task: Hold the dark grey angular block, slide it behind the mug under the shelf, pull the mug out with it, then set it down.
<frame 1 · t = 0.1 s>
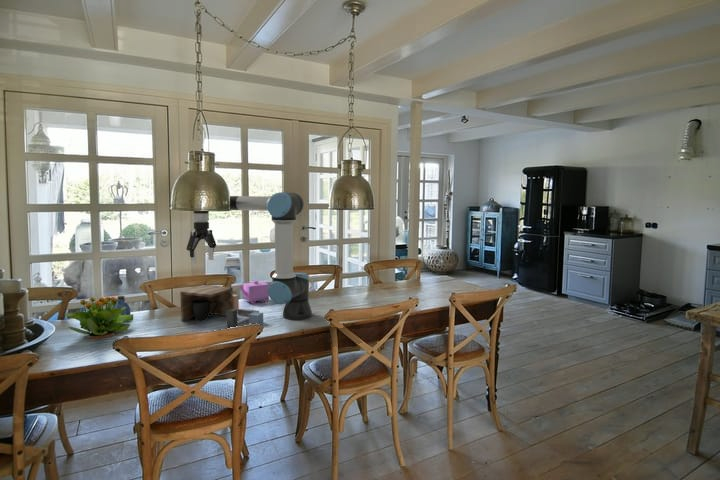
hand: (202, 261, 221), 28 cm above the table, fingers open, 13 cm apart
cube: (256, 323, 207), on the table
teapot: (253, 302, 249), on the table
dark grey angular block: (232, 328, 199), on the table
shelf: (218, 313, 223), on the table
perfume bottle: (122, 320, 211), on the table
mug: (205, 319, 213), on the table
potted flower: (100, 336, 186), on the table
stick: (234, 311, 228), on the table
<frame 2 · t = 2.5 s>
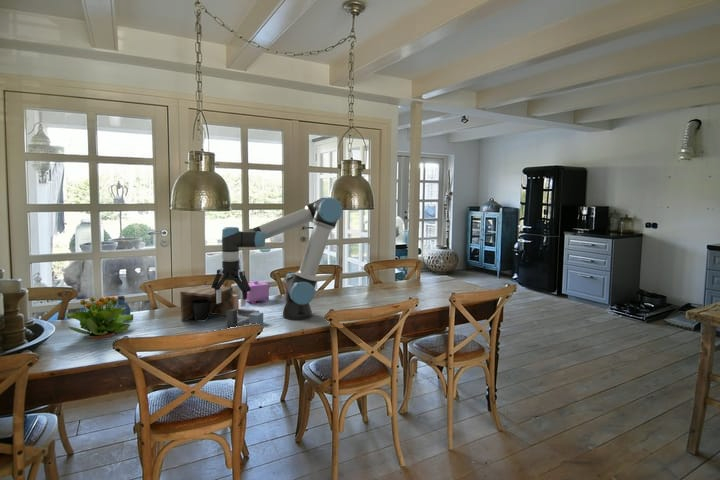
hand: (230, 304, 197), 12 cm above the table, fingers open, 13 cm apart
nothing on the table moved.
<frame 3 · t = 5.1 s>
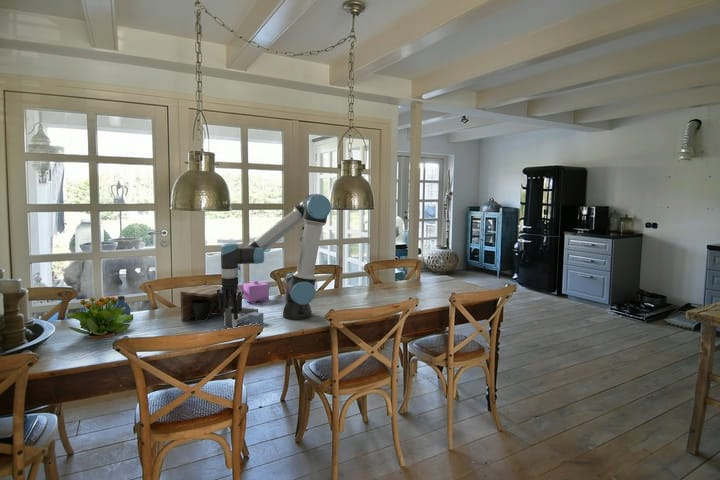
hand: (230, 325, 198), 2 cm above the table, fingers closed on dark grey angular block, 3 cm apart
dark grey angular block: (230, 326, 198), point 1 cm above the table, touching gripper
everything else where it was.
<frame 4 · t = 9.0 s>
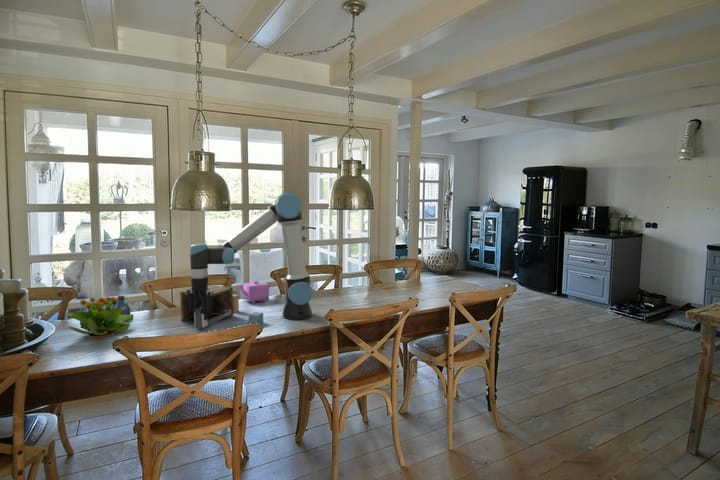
hand: (201, 325, 197), 2 cm above the table, fingers closed on dark grey angular block, 3 cm apart
dark grey angular block: (201, 326, 197), point 1 cm above the table, touching gripper
everything else where it was.
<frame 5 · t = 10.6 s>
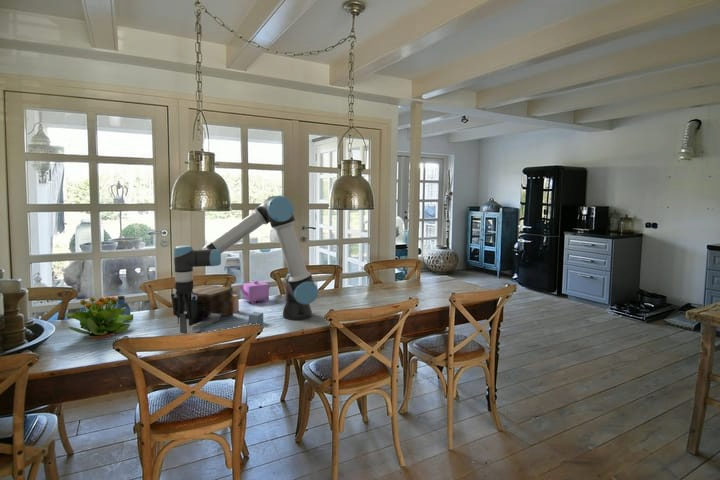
hand: (185, 331, 188), 2 cm above the table, fingers closed on dark grey angular block, 4 cm apart
dark grey angular block: (186, 332, 188), point 1 cm above the table, touching gripper, mug
mug: (197, 322, 208), on the table, touching dark grey angular block
everything else where it was.
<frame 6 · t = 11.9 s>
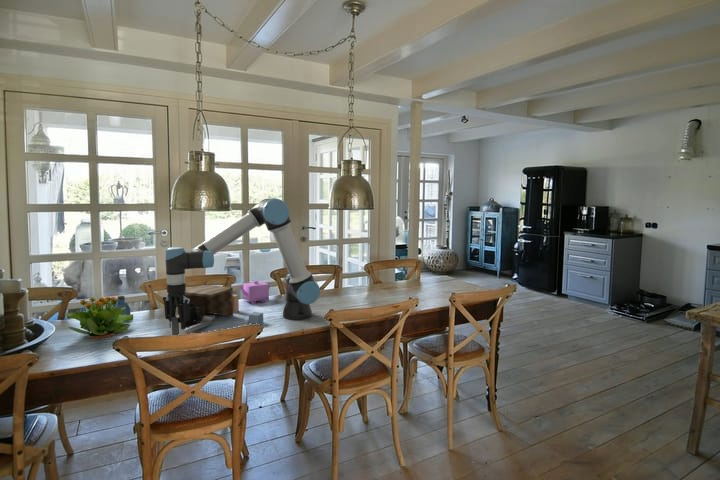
hand: (178, 335, 183), 2 cm above the table, fingers closed on dark grey angular block, 4 cm apart
dark grey angular block: (178, 336, 184), point 1 cm above the table, touching gripper, mug
mug: (190, 325, 203), on the table, touching dark grey angular block
everything else where it was.
when the fingers open (0 cm above the table, at t = 12.9 s): dark grey angular block stays where it is, on the table.
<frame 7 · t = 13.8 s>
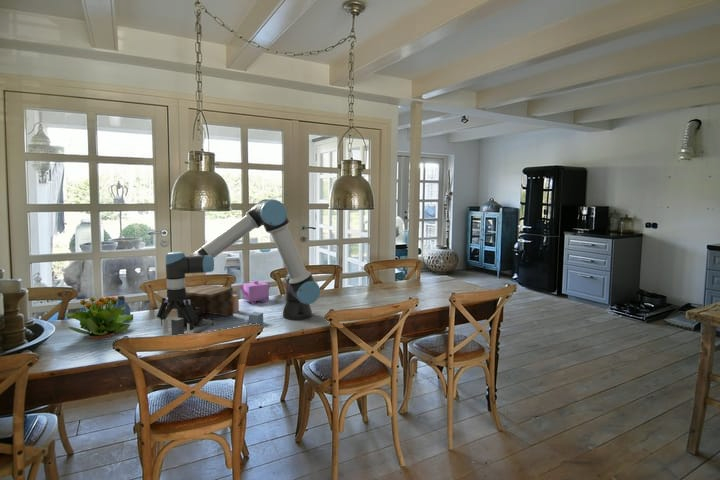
hand: (177, 335, 183), 2 cm above the table, fingers open, 13 cm apart
dark grey angular block: (178, 338, 184), on the table
mug: (190, 325, 203), on the table
everything else where it was.
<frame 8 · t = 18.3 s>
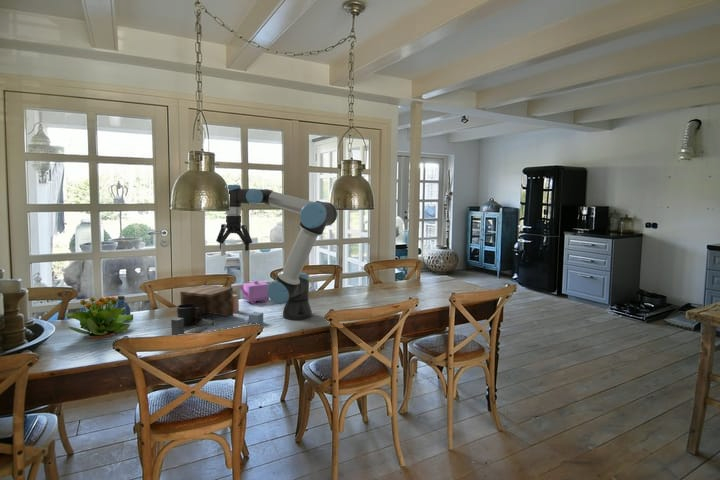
hand: (234, 256, 216), 32 cm above the table, fingers open, 13 cm apart
nothing on the table moved.
at the end: mug inside the target area (8.7 cm from its centre), on the table; mug tilted 0°; mug moved 10.9 cm from its start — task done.
